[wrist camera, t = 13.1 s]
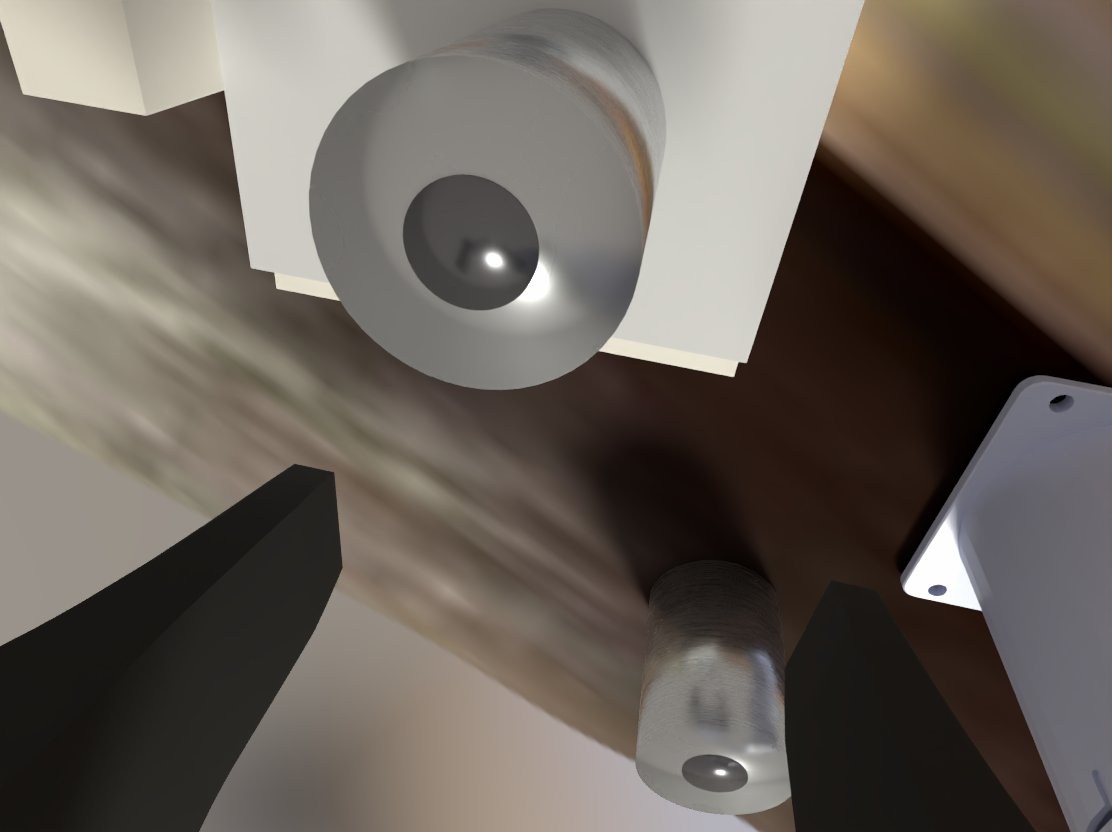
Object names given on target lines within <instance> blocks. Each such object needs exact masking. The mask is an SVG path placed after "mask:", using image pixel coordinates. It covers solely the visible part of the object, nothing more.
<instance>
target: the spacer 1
mask: <svg viewBox="0 0 1112 832" xmlns="http://www.w3.org/2000/svg"><path fill="white" fill-rule="evenodd" d="M666 125H667V124H666V115H665V107H664V103H663V99H662V95H661V91H660V89H659V86H658V84H657V81H656V78H655V76H654V74H653V72H652V71H651V69H650V67H649V65H648V63H647V62H646V60H645V59H644V58H643V56H642V55H641V53H640V52H639V51H638V49H637V48H636V47H635V46H634V45H633V44H632V43H631V42H630V41H629V40H628V39H627V38H626V37H625V36H624V35H622V34H621V33H620V32H619V31H617V30H616V29H615V28H614V27H612V26H610V25H608V24H607V23H605V22H603V21H602V20H600V19H598V18H595V17H593V16H590V15H588V14H585V13H581V12H577V11H573V10H568V9H555V8H551V9H538V10H534V11H529V12H525V13H521V14H519V15H517V16H514V17H512V18H509V19H507V20H504V21H502V22H500V23H497V24H495V25H492V26H490V27H488V28H485V29H483V30H481V31H478V32H476V33H474V34H471V35H469V36H466V37H464V38H462V39H459V40H457V41H455V42H452V43H450V44H448V45H445V46H443V47H440V48H438V49H436V50H433V51H431V52H429V53H426V54H424V55H422V56H419V57H417V58H414V59H412V60H410V61H407V62H405V63H403V64H400V65H398V66H396V67H393V68H391V69H389V70H386V71H384V72H383V73H381V74H379V75H378V76H376V77H374V78H373V79H371V80H370V81H368V82H366V83H365V84H364V85H363V86H362V87H360V88H359V89H358V90H357V91H356V92H355V93H353V94H352V95H351V96H350V97H349V98H348V99H347V100H346V102H345V103H344V104H343V105H342V106H341V108H340V109H339V110H338V111H337V112H336V114H335V115H334V117H333V118H332V120H331V122H330V123H329V125H328V127H327V128H326V130H325V132H324V134H323V137H322V139H321V141H320V144H319V146H318V149H317V151H316V155H315V159H314V163H313V167H312V171H311V178H310V187H309V216H310V222H311V229H312V236H313V239H314V243H315V247H316V250H317V254H318V257H319V260H320V262H321V265H322V267H323V270H324V272H325V275H326V277H327V279H328V281H329V283H330V284H331V286H332V288H333V290H334V292H335V294H336V295H337V297H338V298H339V300H340V301H341V303H342V304H343V306H344V307H345V309H346V310H347V312H348V313H349V314H350V315H351V316H352V318H353V319H354V320H355V321H356V322H357V324H358V325H359V326H360V327H361V328H362V329H363V330H364V331H365V332H366V333H367V334H368V335H369V336H370V337H371V338H372V339H373V340H374V341H375V342H376V343H378V344H379V345H380V346H381V347H383V348H384V349H385V350H386V351H388V352H389V353H390V354H392V355H393V356H394V357H396V358H398V359H399V360H401V361H402V362H404V363H406V364H407V365H409V366H411V367H413V368H415V369H417V370H419V371H421V372H423V373H425V374H427V375H429V376H432V377H434V378H437V379H440V380H442V381H445V382H449V383H453V384H456V385H460V386H464V387H471V388H478V389H490V390H506V389H518V388H524V387H529V386H534V385H539V384H542V383H545V382H547V381H550V380H553V379H556V378H558V377H560V376H562V375H564V374H566V373H568V372H570V371H572V370H574V369H575V368H577V367H578V366H580V365H581V364H583V363H584V362H586V361H587V360H589V359H590V358H591V357H592V356H593V355H594V354H595V353H596V352H597V351H599V350H600V349H601V348H602V347H603V346H604V345H605V343H606V342H607V341H608V340H609V339H610V337H611V336H612V335H613V334H614V333H615V331H616V329H617V328H618V326H619V325H620V323H621V321H622V320H623V318H624V316H625V315H626V312H627V310H628V308H629V305H630V303H631V301H632V299H633V296H634V292H635V289H636V285H637V282H638V278H639V273H640V269H641V264H642V259H643V254H644V250H645V245H646V240H647V235H648V230H649V226H650V221H651V216H652V211H653V206H654V202H655V197H656V192H657V187H658V182H659V178H660V173H661V168H662V163H663V158H664V153H665V146H666Z"/></svg>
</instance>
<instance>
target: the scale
mask: <svg viewBox="0 0 1112 832" xmlns="http://www.w3.org/2000/svg"><path fill="white" fill-rule="evenodd" d="M864 2H865V0H0V21H1V24H2V27H3V30H4V34H5V37H6V40H7V43H8V47H9V50H10V53H11V56H12V60H13V63H14V66H15V69H16V73H17V76H18V79H19V82H20V86H21V89H22V92H23V94H26V95H31V96H37V97H43V98H48V99H54V100H60V101H65V102H71V103H76V104H82V105H88V106H93V107H99V108H105V109H110V110H116V111H122V112H127V113H133V114H139V115H144V116H147V115H150V114H153V113H156V112H159V111H162V110H165V109H168V108H171V107H174V106H177V105H180V104H183V103H187V102H190V101H193V100H196V99H199V98H202V97H205V96H208V95H211V94H214V93H217V92H220V91H223V90H224V91H225V98H226V104H227V111H228V118H229V124H230V131H231V138H232V144H233V151H234V158H235V164H236V171H237V178H238V184H239V191H240V198H241V204H242V211H243V218H244V224H245V231H246V238H247V245H248V251H249V258H250V265H251V268H254V269H259V270H264V271H269V272H274V273H275V280H276V288H277V289H282V290H287V291H292V292H297V293H303V294H308V295H313V296H318V297H323V298H328V299H334V300H339V298H338V297H337V295H336V294H335V292H334V290H333V288H332V286H331V284H330V283H329V281H328V279H327V277H326V275H325V272H324V270H323V267H322V265H321V262H320V260H319V257H318V254H317V250H316V247H315V243H314V239H313V236H312V229H311V222H310V216H309V187H310V178H311V171H312V167H313V163H314V159H315V155H316V151H317V149H318V146H319V144H320V141H321V139H322V137H323V134H324V132H325V130H326V128H327V127H328V125H329V123H330V122H331V120H332V118H333V117H334V115H335V114H336V112H337V111H338V110H339V109H340V108H341V106H342V105H343V104H344V103H345V102H346V100H347V99H348V98H349V97H350V96H351V95H352V94H353V93H355V92H356V91H357V90H358V89H359V88H360V87H362V86H363V85H364V84H365V83H366V82H368V81H370V80H371V79H373V78H374V77H376V76H378V75H379V74H381V73H383V72H384V71H386V70H389V69H391V68H393V67H396V66H398V65H400V64H403V63H405V62H407V61H410V60H412V59H414V58H417V57H419V56H422V55H424V54H426V53H429V52H431V51H433V50H436V49H438V48H440V47H443V46H445V45H448V44H450V43H452V42H455V41H457V40H459V39H462V38H464V37H466V36H469V35H471V34H474V33H476V32H478V31H481V30H483V29H485V28H488V27H490V26H492V25H495V24H497V23H500V22H502V21H504V20H507V19H509V18H512V17H514V16H517V15H519V14H521V13H525V12H529V11H534V10H538V9H551V8H555V9H568V10H573V11H577V12H581V13H585V14H588V15H590V16H593V17H595V18H598V19H600V20H602V21H603V22H605V23H607V24H608V25H610V26H612V27H614V28H615V29H616V30H617V31H619V32H620V33H621V34H622V35H624V36H625V37H626V38H627V39H628V40H629V41H630V42H631V43H632V44H633V45H634V46H635V47H636V48H637V49H638V51H639V52H640V53H641V55H642V56H643V58H644V59H645V60H646V62H647V63H648V65H649V67H650V69H651V71H652V72H653V74H654V76H655V78H656V81H657V84H658V86H659V89H660V91H661V95H662V99H663V103H664V107H665V115H666V124H667V125H666V146H665V153H664V158H663V163H662V168H661V173H660V178H659V182H658V187H657V192H656V197H655V202H654V206H653V211H652V216H651V221H650V226H649V230H648V235H647V240H646V245H645V250H644V254H643V259H642V264H641V269H640V273H639V278H638V282H637V285H636V289H635V292H634V296H633V299H632V301H631V303H630V305H629V308H628V310H627V312H626V315H625V316H624V318H623V320H622V321H621V323H620V325H619V326H618V328H617V329H616V331H615V333H614V334H613V335H612V336H611V337H610V339H609V340H608V341H607V342H606V343H605V345H604V346H603V347H602V348H601V349H600V350H599V351H602V352H607V353H612V354H617V355H623V356H628V357H633V358H638V359H643V360H648V361H654V362H659V363H664V364H669V365H674V366H679V367H685V368H690V369H695V370H700V371H705V372H710V373H716V374H721V375H726V376H731V377H734V374H735V371H736V368H737V365H738V362H743V363H747V360H748V357H749V354H750V351H751V348H752V345H753V342H754V339H755V336H756V332H757V329H758V326H759V323H760V320H761V317H762V314H763V311H764V308H765V305H766V302H767V299H768V296H769V293H770V290H771V287H772V283H773V280H774V277H775V274H776V271H777V268H778V265H779V262H780V259H781V256H782V253H783V250H784V247H785V244H786V241H787V238H788V234H789V231H790V228H791V225H792V222H793V219H794V216H795V213H796V210H797V207H798V204H799V201H800V198H801V195H802V192H803V189H804V186H805V182H806V179H807V176H808V173H809V170H810V167H811V164H812V161H813V158H814V155H815V152H816V149H817V146H818V143H819V140H820V137H821V133H822V130H823V127H824V124H825V121H826V118H827V115H828V112H829V109H830V106H831V103H832V100H833V97H834V94H835V91H836V88H837V84H838V81H839V78H840V75H841V72H842V69H843V66H844V63H845V60H846V57H847V54H848V51H849V48H850V45H851V42H852V39H853V35H854V32H855V29H856V26H857V23H858V20H859V17H860V14H861V11H862V8H863V5H864ZM339 301H340V300H339Z"/></svg>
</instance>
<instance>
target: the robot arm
mask: <svg viewBox="0 0 1112 832" xmlns="http://www.w3.org/2000/svg"><path fill="white" fill-rule="evenodd" d="M1060 395H1067V396H1066V398H1065V399H1064V400H1063V401H1061V402H1059V403H1056V404H1050V401H1051V400H1053V399H1054V398H1055V397H1057V396H1060ZM341 570H342V556H341V545H340V533H339V522H338V511H337V499H336V488H335V476H334V472H330V471H325V470H320V469H316V468H311V467H307V466H302V465H297V464H294V465H292V466H291V467H289V468H288V469H286V470H285V471H283V472H282V473H280V474H279V475H277V476H276V477H274V478H273V479H271V480H270V481H268V482H267V483H265V484H264V485H262V486H261V487H259V488H258V489H257V490H255V491H254V492H252V493H251V494H249V495H248V496H246V497H245V498H243V499H242V500H241V501H239V502H238V503H236V504H235V505H233V506H232V507H230V508H229V509H227V510H226V511H224V512H223V513H221V514H220V515H219V516H217V517H216V518H214V519H213V520H211V521H210V522H208V523H207V524H205V525H204V526H202V527H201V528H199V529H198V530H196V531H195V532H193V533H192V534H190V535H189V536H187V537H186V538H184V539H182V540H181V541H179V542H178V543H176V544H175V545H173V546H172V547H170V548H169V549H167V550H166V551H164V552H163V553H161V554H160V555H158V556H157V557H155V558H154V559H152V560H150V561H149V562H147V563H146V564H144V565H142V566H141V567H139V568H137V569H136V570H134V571H133V572H131V573H129V574H128V575H126V576H124V577H123V578H121V579H119V580H118V581H116V582H114V583H113V584H111V585H110V586H108V587H106V588H104V589H103V590H101V591H99V592H98V593H96V594H94V595H93V596H91V597H90V598H88V599H86V600H85V601H83V602H81V603H79V604H78V605H76V606H74V607H73V608H71V609H69V610H67V611H66V612H64V613H62V614H60V615H58V616H56V617H55V618H53V619H51V620H49V621H47V622H45V623H44V624H42V625H40V626H38V627H36V628H35V629H33V630H31V631H29V632H27V633H25V634H23V635H21V636H19V637H17V638H15V639H13V640H12V641H9V642H7V643H6V644H4V645H2V646H0V832H199V831H200V828H201V826H202V824H203V822H204V820H205V818H206V816H207V814H208V812H209V810H210V808H211V806H212V804H213V802H214V800H215V798H216V796H217V794H218V793H219V791H220V789H221V787H222V785H223V783H224V782H225V780H226V778H227V777H228V775H229V773H230V771H231V769H232V767H233V766H234V764H235V762H236V761H237V759H238V758H239V756H240V754H241V753H242V751H243V749H244V748H245V746H246V744H247V743H248V741H249V739H250V738H251V736H252V734H253V733H254V731H255V729H256V728H257V726H258V724H259V723H260V721H261V719H262V718H263V716H264V714H265V713H266V711H267V709H268V708H269V706H270V704H271V703H272V701H273V700H274V698H275V696H276V694H277V693H278V691H279V690H280V688H281V686H282V685H283V683H284V681H285V680H286V678H287V676H288V675H289V673H290V671H291V669H292V668H293V666H294V664H295V663H296V661H297V659H298V658H299V656H300V654H301V653H302V651H303V649H304V648H305V645H306V644H307V642H308V641H309V639H310V637H311V636H312V634H313V632H314V630H315V629H316V626H317V624H318V622H319V620H320V617H321V616H322V613H323V611H324V609H325V607H326V605H327V602H328V600H329V598H330V596H331V593H332V591H333V589H334V586H335V584H336V582H337V579H338V577H339V575H340V572H341ZM900 580H901V583H902V586H903V589H904V591H905V592H906V593H907V594H909V595H912V596H915V597H920V598H924V599H929V600H934V601H938V602H943V603H948V604H952V605H957V606H962V607H967V608H971V609H976V610H981V611H982V612H983V615H984V617H985V620H986V622H987V625H988V627H989V630H990V632H991V635H992V637H993V640H994V642H995V644H996V647H997V649H998V652H999V654H1000V657H1001V659H1002V662H1003V664H1004V667H1005V669H1006V672H1007V674H1008V677H1009V679H1010V682H1011V684H1012V687H1013V689H1014V692H1015V694H1016V697H1017V699H1018V702H1019V704H1020V707H1021V709H1022V712H1023V714H1024V717H1025V719H1026V722H1027V724H1028V726H1029V729H1030V731H1031V734H1032V736H1033V739H1034V741H1035V744H1036V746H1037V749H1038V751H1039V754H1040V756H1041V759H1042V761H1043V764H1044V766H1045V769H1046V771H1047V774H1048V776H1049V779H1050V781H1051V784H1052V786H1053V789H1054V791H1055V794H1056V796H1057V799H1058V801H1059V804H1060V806H1061V808H1062V811H1063V813H1064V816H1065V818H1066V821H1067V823H1068V826H1069V828H1070V831H1071V832H1112V388H1110V387H1104V386H1099V385H1093V384H1088V383H1083V382H1077V381H1072V380H1067V379H1061V378H1056V377H1051V376H1043V375H1036V376H1033V377H1029V378H1027V379H1025V380H1023V381H1022V382H1020V383H1019V384H1018V385H1017V386H1016V388H1015V389H1014V391H1013V392H1012V394H1011V395H1010V397H1009V399H1008V400H1007V402H1006V404H1005V405H1004V407H1003V409H1002V410H1001V412H1000V414H999V415H998V417H997V419H996V420H995V422H994V423H993V425H992V427H991V428H990V430H989V432H988V433H987V435H986V437H985V438H984V440H983V442H982V443H981V445H980V446H979V448H978V450H977V451H976V453H975V455H974V456H973V458H972V460H971V461H970V463H969V465H968V466H967V468H966V470H965V471H964V473H963V474H962V476H961V478H960V479H959V481H958V483H957V484H956V486H955V488H954V489H953V491H952V493H951V494H950V496H949V498H948V499H947V501H946V502H945V504H944V506H943V507H942V509H941V511H940V512H939V514H938V516H937V517H936V519H935V521H934V522H933V524H932V526H931V527H930V529H929V530H928V532H927V534H926V535H925V537H924V539H923V540H922V542H921V544H920V545H919V547H918V549H917V550H916V552H915V554H914V555H913V557H912V558H911V560H910V562H909V563H908V565H907V567H906V568H905V570H904V572H903V573H902V575H901V579H900ZM936 584H940V585H938V586H932V585H936ZM784 714H785V746H786V755H787V763H788V772H789V780H790V788H791V797H792V805H793V813H794V821H795V828H796V832H1036V831H1035V830H1034V828H1033V827H1032V826H1031V824H1030V823H1029V821H1028V820H1027V819H1026V817H1025V816H1024V815H1023V813H1022V812H1021V811H1020V809H1019V808H1018V806H1017V805H1016V804H1015V802H1014V801H1013V800H1012V798H1011V797H1010V795H1009V794H1008V793H1007V791H1006V790H1005V789H1004V787H1003V786H1002V784H1001V783H1000V781H999V780H998V779H997V777H996V776H995V774H994V773H993V771H992V770H991V769H990V767H989V766H988V764H987V763H986V761H985V760H984V758H983V757H982V755H981V754H980V752H979V751H978V749H977V748H976V746H975V745H974V743H973V742H972V740H971V739H970V737H969V736H968V734H967V733H966V731H965V730H964V728H963V727H962V725H961V724H960V722H959V721H958V719H957V718H956V716H955V715H954V713H953V712H952V710H951V709H950V707H949V706H948V704H947V703H946V701H945V699H944V698H943V696H942V695H941V693H940V692H939V690H938V689H937V687H936V685H935V684H934V682H933V681H932V679H931V677H930V676H929V674H928V673H927V671H926V669H925V668H924V666H923V665H922V663H921V662H920V660H919V658H918V657H917V655H916V654H915V652H914V650H913V649H912V647H911V645H910V644H909V642H908V641H907V639H906V637H905V636H904V634H903V633H902V631H901V629H900V628H899V626H898V625H897V623H896V621H895V620H894V618H893V617H892V615H891V613H890V612H889V610H888V609H887V607H886V605H885V604H884V602H883V601H882V599H881V597H880V596H879V594H878V593H877V591H876V590H873V589H868V588H864V587H859V586H855V585H850V584H845V583H841V582H836V581H832V580H831V582H830V583H829V585H828V587H827V589H826V591H825V593H824V595H823V597H822V599H821V601H820V602H819V604H818V606H817V608H816V610H815V612H814V614H813V616H812V618H811V620H810V621H809V623H808V625H807V627H806V629H805V631H804V633H803V635H802V637H801V639H800V640H799V642H798V644H797V646H796V648H795V650H794V652H793V654H792V656H791V658H790V659H789V661H788V663H787V665H786V667H785V695H784Z"/></svg>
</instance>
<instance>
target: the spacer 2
mask: <svg viewBox="0 0 1112 832" xmlns="http://www.w3.org/2000/svg"><path fill="white" fill-rule="evenodd" d="M785 667H786V664H785V654H784V645H783V635H782V626H781V617H780V607H779V600H778V596H777V594H776V592H775V590H774V588H773V587H772V586H771V584H770V583H769V582H768V581H767V580H766V579H765V578H763V577H762V576H761V575H760V574H758V573H756V572H755V571H753V570H751V569H749V568H747V567H745V566H742V565H739V564H736V563H732V562H727V561H721V560H699V561H692V562H687V563H684V564H681V565H678V566H676V567H674V568H671V569H670V570H668V571H667V572H665V573H664V574H663V575H661V576H660V577H659V578H658V579H657V581H656V582H655V584H654V585H653V587H652V590H651V593H650V599H649V611H648V622H647V634H646V645H645V657H644V668H643V680H642V692H641V703H640V715H639V726H638V738H637V749H636V769H637V772H638V774H639V776H640V778H641V779H642V781H643V782H644V783H645V784H646V785H647V786H648V787H649V788H650V789H651V790H653V791H654V792H655V793H657V794H658V795H660V796H661V797H663V798H665V799H667V800H669V801H671V802H673V803H675V804H678V805H681V806H683V807H686V808H689V809H693V810H697V811H702V812H707V813H714V814H725V815H737V814H749V813H756V812H760V811H764V810H767V809H770V808H773V807H775V806H777V805H779V804H781V803H782V802H784V801H785V800H787V799H788V798H789V797H790V796H791V788H790V780H789V772H788V763H787V755H786V746H785V714H784V695H785Z"/></svg>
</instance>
